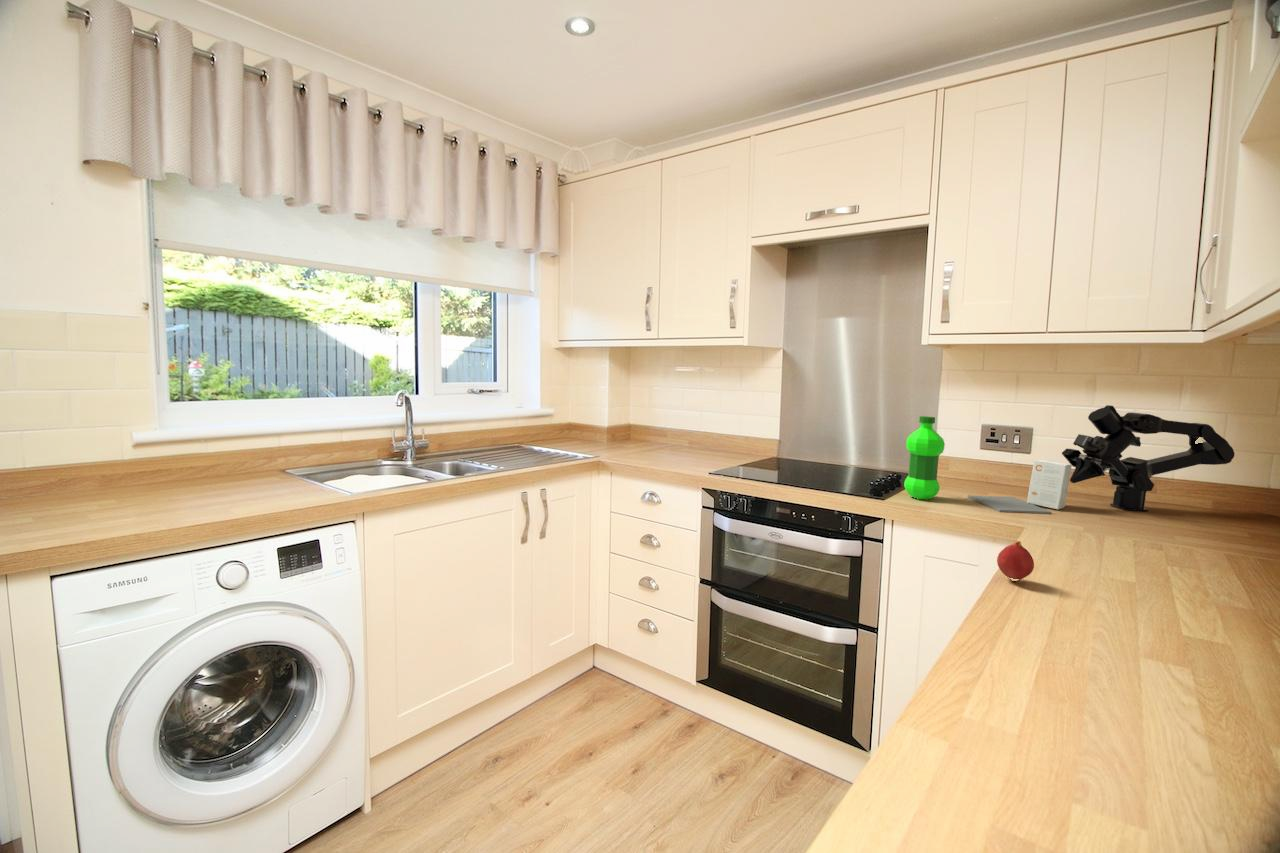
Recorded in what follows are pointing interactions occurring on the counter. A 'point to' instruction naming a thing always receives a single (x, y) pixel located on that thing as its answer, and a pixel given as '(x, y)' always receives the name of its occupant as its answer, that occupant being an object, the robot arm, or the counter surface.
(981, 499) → the mat
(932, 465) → the plastic bottle
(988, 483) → the counter surface
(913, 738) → the counter surface
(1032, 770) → the counter surface
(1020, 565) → the onion
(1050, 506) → the small box
